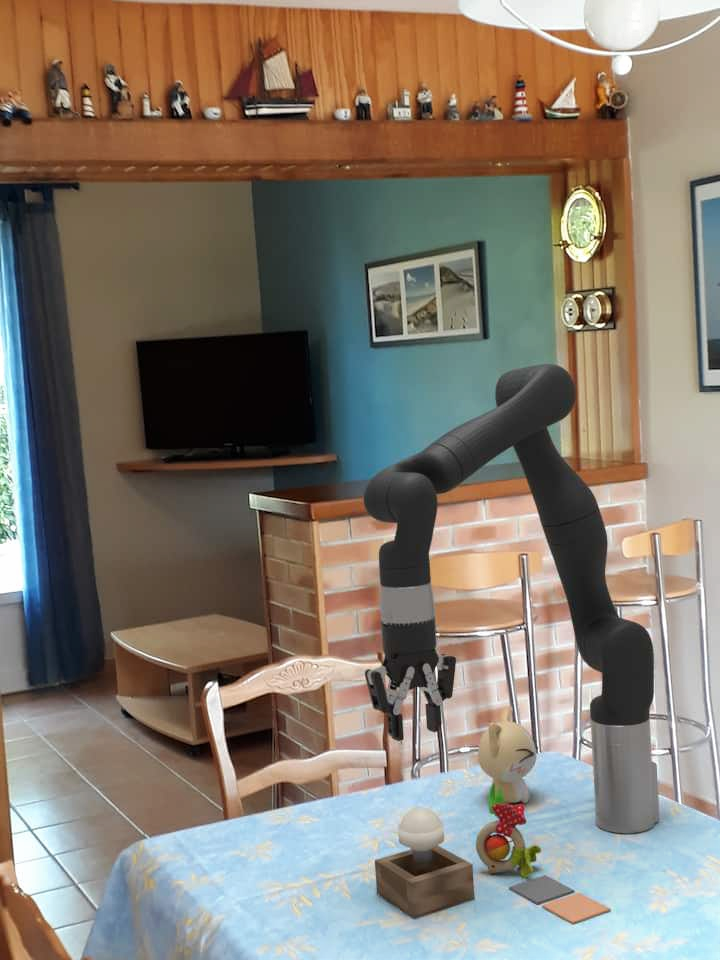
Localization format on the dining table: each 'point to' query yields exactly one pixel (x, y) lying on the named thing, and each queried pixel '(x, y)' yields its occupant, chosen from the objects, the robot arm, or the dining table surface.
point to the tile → (576, 908)
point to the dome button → (421, 833)
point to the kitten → (507, 760)
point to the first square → (541, 889)
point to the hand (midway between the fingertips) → (415, 734)
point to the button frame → (424, 882)
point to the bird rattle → (506, 841)
